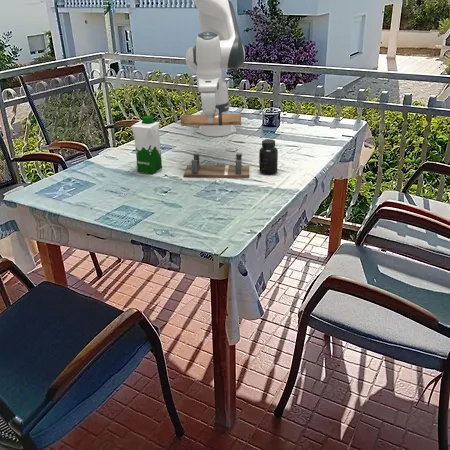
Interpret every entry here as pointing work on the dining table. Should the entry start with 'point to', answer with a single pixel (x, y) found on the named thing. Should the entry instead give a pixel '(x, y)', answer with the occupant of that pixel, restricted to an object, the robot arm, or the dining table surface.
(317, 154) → the dining table surface
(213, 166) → the cradle board
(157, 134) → the milk carton
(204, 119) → the copper tube
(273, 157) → the supplement bottle
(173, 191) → the dining table surface
